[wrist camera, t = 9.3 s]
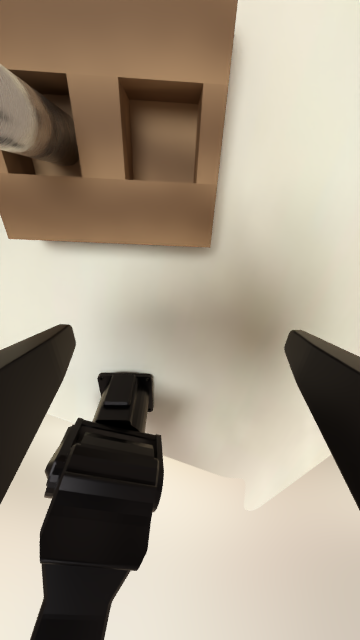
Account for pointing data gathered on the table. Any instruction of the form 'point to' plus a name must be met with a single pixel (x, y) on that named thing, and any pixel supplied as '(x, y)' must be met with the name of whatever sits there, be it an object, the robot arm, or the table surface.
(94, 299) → the table surface
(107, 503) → the robot arm
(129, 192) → the block
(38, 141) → the pin
